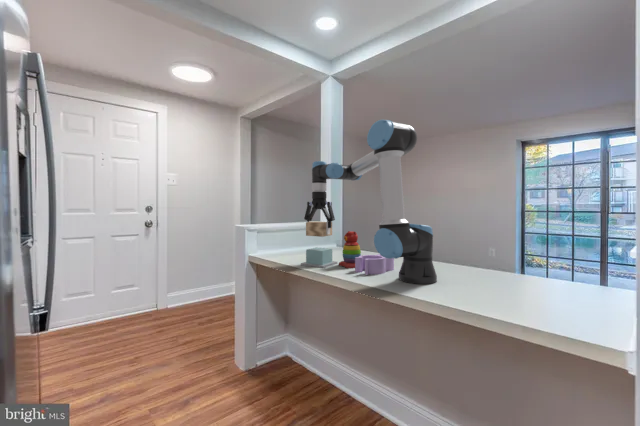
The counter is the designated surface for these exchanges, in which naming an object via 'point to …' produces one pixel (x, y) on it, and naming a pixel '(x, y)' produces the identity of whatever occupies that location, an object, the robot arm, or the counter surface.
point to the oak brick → (317, 229)
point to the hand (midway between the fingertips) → (319, 233)
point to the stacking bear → (350, 250)
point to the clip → (373, 264)
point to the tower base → (319, 257)
